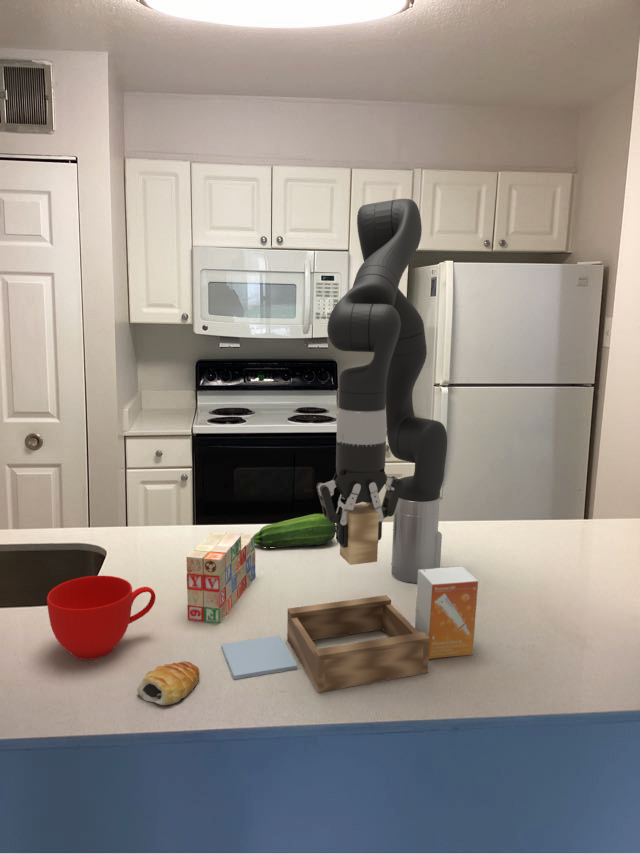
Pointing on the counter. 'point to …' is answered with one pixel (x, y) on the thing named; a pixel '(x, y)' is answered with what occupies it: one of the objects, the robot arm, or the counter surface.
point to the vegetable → (297, 532)
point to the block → (361, 536)
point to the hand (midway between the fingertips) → (358, 543)
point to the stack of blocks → (219, 575)
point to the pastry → (169, 683)
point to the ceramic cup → (93, 613)
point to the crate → (360, 659)
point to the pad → (258, 657)
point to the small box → (447, 610)
